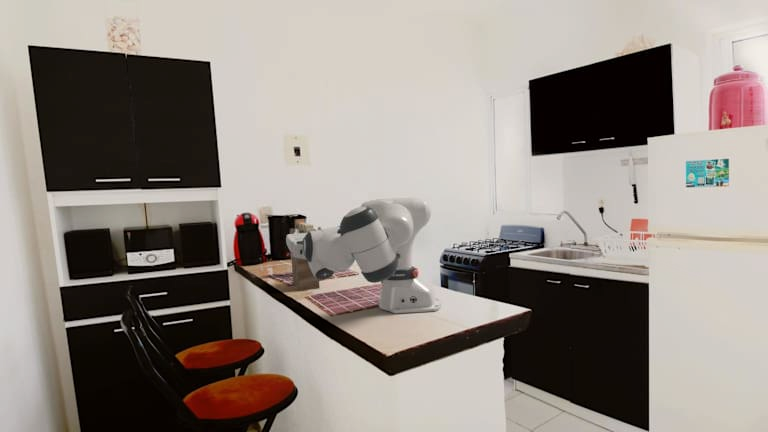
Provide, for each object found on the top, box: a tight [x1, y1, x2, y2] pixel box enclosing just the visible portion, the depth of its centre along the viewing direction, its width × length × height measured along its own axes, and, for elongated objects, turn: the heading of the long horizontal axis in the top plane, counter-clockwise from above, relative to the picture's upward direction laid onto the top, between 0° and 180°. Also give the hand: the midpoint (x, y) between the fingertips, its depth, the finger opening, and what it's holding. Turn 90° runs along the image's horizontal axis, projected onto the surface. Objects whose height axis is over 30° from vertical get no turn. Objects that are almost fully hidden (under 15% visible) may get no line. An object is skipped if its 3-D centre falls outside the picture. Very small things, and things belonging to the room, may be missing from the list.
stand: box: [289, 227, 320, 292], centre depth 188 cm, size 16×9×26 cm, turn 22°
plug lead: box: [294, 218, 314, 233], centre depth 183 cm, size 25×4×4 cm, turn 22°
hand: (308, 229), depth 173 cm, fingers open, 8 cm apart
